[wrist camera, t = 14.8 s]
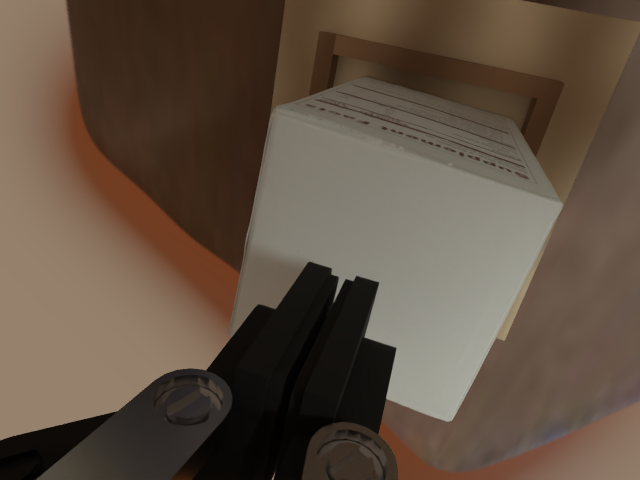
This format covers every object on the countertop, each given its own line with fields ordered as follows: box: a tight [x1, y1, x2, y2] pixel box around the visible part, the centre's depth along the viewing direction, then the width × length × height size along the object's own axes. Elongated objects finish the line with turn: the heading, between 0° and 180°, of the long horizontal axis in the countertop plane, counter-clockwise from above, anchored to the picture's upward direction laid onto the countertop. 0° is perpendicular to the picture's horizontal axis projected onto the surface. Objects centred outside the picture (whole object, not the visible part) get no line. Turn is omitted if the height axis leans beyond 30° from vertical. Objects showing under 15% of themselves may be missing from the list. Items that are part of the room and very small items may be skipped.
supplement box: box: [228, 76, 563, 422], centre depth 18 cm, size 7×7×13 cm
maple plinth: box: [270, 0, 640, 341], centre depth 25 cm, size 15×16×5 cm
